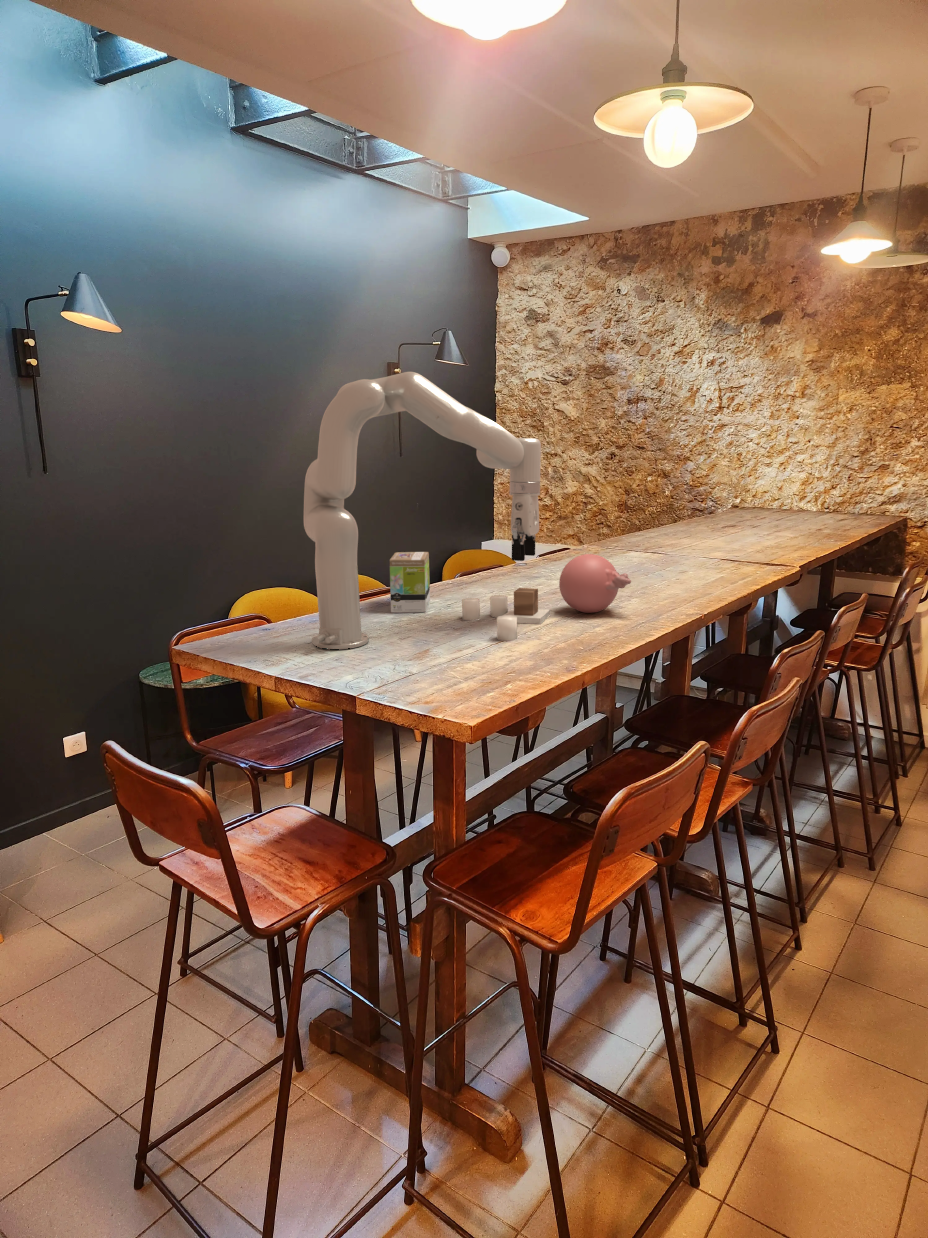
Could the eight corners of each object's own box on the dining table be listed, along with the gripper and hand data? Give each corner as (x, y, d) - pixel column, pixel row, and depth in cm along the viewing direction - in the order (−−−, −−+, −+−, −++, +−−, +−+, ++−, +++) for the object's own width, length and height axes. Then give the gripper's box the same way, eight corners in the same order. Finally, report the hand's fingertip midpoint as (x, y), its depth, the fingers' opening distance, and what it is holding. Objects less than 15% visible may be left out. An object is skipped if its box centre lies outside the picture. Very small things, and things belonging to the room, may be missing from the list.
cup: (513, 641, 181) (513, 620, 180) (494, 640, 183) (494, 619, 182) (519, 636, 185) (519, 615, 184) (500, 635, 187) (500, 614, 186)
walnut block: (533, 615, 199) (532, 592, 198) (514, 614, 201) (513, 591, 199) (538, 611, 204) (537, 588, 202) (519, 610, 205) (519, 587, 204)
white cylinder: (504, 617, 204) (504, 599, 203) (488, 617, 206) (487, 598, 205) (510, 614, 209) (509, 595, 207) (493, 613, 210) (493, 594, 209)
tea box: (427, 612, 213) (425, 558, 209) (390, 613, 213) (387, 559, 210) (430, 601, 227) (428, 550, 224) (396, 602, 228) (393, 551, 224)
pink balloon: (611, 624, 194) (612, 562, 191) (547, 613, 208) (547, 555, 204) (645, 613, 205) (646, 554, 201) (582, 603, 219) (582, 548, 215)
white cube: (476, 621, 202) (476, 601, 201) (459, 620, 203) (459, 601, 202) (482, 617, 206) (482, 598, 205) (465, 616, 208) (465, 597, 207)
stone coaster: (540, 624, 196) (540, 618, 196) (502, 622, 200) (501, 616, 200) (550, 615, 206) (550, 609, 205) (513, 613, 209) (513, 607, 209)
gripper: (530, 491, 186) (528, 563, 190) (548, 487, 202) (546, 554, 205) (499, 490, 188) (498, 561, 192) (520, 487, 204) (518, 552, 208)
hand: (523, 557), depth 199 cm, fingers open, 9 cm apart
